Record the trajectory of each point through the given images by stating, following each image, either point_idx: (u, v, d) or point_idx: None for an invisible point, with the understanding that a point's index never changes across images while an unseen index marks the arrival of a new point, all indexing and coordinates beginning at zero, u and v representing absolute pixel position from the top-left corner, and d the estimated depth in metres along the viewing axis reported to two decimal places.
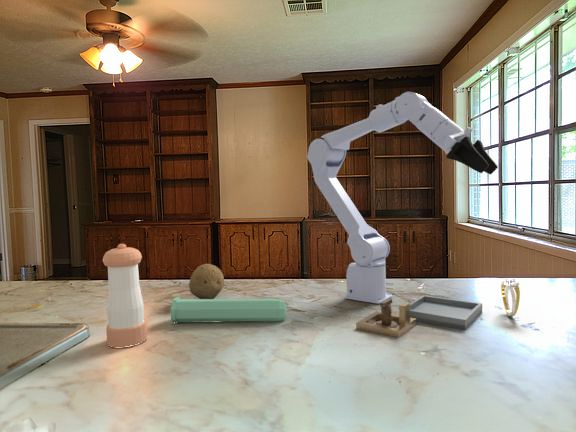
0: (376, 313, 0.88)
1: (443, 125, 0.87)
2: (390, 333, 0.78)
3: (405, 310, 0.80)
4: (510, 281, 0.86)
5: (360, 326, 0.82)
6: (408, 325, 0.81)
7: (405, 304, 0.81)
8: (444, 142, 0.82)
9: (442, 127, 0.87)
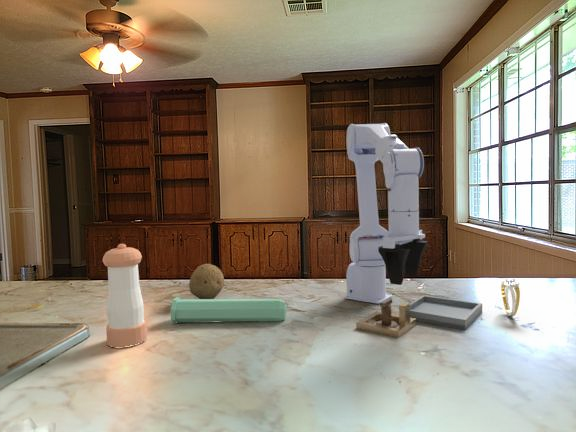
0: (376, 313, 0.88)
1: (404, 215, 0.77)
2: (390, 333, 0.78)
3: (405, 310, 0.80)
4: (510, 281, 0.86)
5: (360, 326, 0.82)
6: (408, 325, 0.81)
7: (405, 304, 0.81)
8: (384, 239, 0.74)
9: (402, 216, 0.77)
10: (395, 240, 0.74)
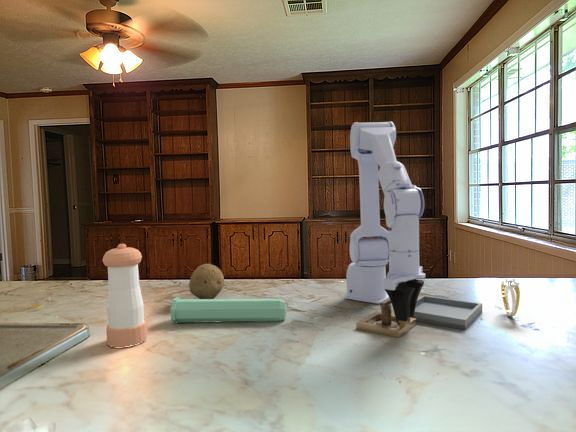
0: (376, 313, 0.88)
1: (405, 255, 0.77)
2: (390, 333, 0.78)
3: None
4: (510, 281, 0.86)
5: (360, 326, 0.82)
6: (408, 325, 0.81)
7: None
8: (385, 281, 0.75)
9: (402, 256, 0.77)
10: (396, 282, 0.75)
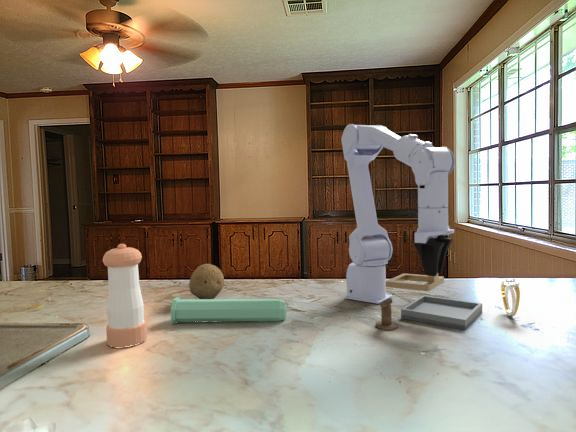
0: (403, 274, 0.91)
1: (435, 211, 0.80)
2: (420, 288, 0.80)
3: None
4: (510, 281, 0.86)
5: (390, 284, 0.85)
6: (437, 281, 0.83)
7: None
8: (416, 234, 0.77)
9: (432, 212, 0.80)
10: (426, 235, 0.77)
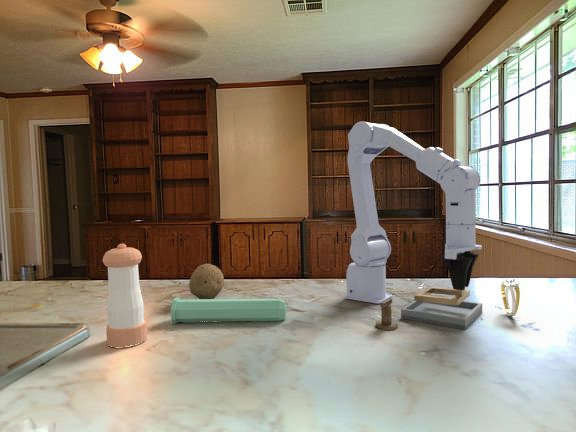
0: (429, 288, 0.94)
1: (463, 228, 0.83)
2: (449, 302, 0.84)
3: None
4: (510, 281, 0.86)
5: (418, 298, 0.88)
6: (464, 295, 0.87)
7: None
8: (447, 251, 0.80)
9: (461, 229, 0.83)
10: (456, 251, 0.80)
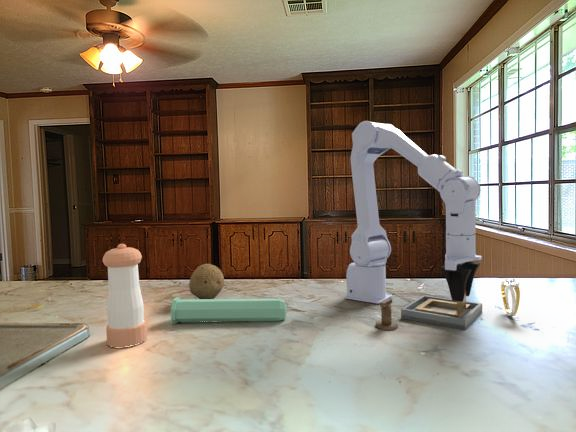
0: (430, 300, 0.94)
1: (463, 239, 0.83)
2: None
3: None
4: (510, 281, 0.86)
5: None
6: (465, 310, 0.87)
7: None
8: (447, 262, 0.81)
9: (461, 239, 0.83)
10: (456, 262, 0.80)
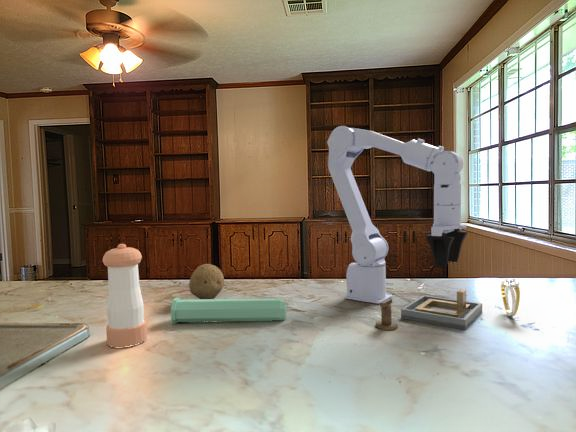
0: (430, 300, 0.94)
1: (449, 208, 0.90)
2: None
3: (462, 296, 0.85)
4: (510, 281, 0.86)
5: None
6: (465, 310, 0.87)
7: (462, 290, 0.86)
8: (433, 228, 0.87)
9: (447, 209, 0.90)
10: (442, 229, 0.87)
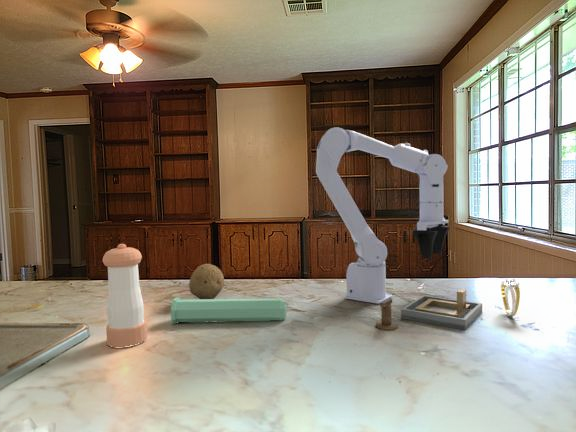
0: (430, 300, 0.94)
1: (433, 205, 1.00)
2: None
3: (462, 296, 0.85)
4: (510, 281, 0.86)
5: None
6: (465, 310, 0.87)
7: (462, 290, 0.86)
8: (418, 223, 0.98)
9: (431, 206, 1.00)
10: (426, 224, 0.98)
